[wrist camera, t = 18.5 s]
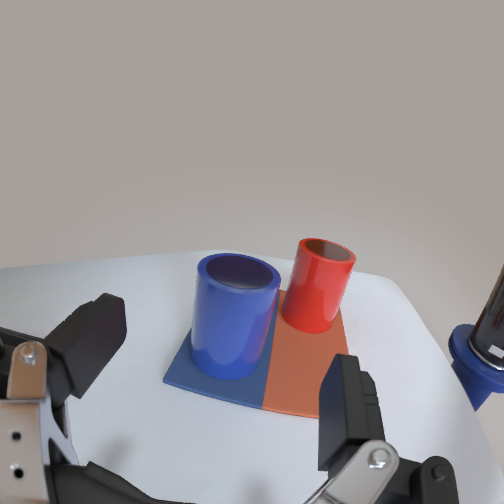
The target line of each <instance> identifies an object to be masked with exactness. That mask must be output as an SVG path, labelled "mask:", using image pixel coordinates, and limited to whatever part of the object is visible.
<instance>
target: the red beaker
mask: <svg viewBox="0 0 504 504" xmlns="http://www.w3.org/2000/svg"><path fill="white" fill-rule="evenodd" d="M355 261H356V257H355V255H354V254H353V253H352V252H351V251H350V250H348V249H347V248H345V247H343V246H341V245H339V244H336V243H333V242H330V241H327V240H322V239H314V238H307V239H303V240H301V241H300V242H299V245H298V249H297V253H296V257H295V261H294V264H293V268H292V272H291V276H290V280H289V283H288V287H287V291H286V294H285V298H284V302H283V305H282V309H281V315H282V317H283V319H284V320H285V321H286V322H287V323H288V324H289V325H290V326H292V327H293V328H295V329H297V330H300V331H303V332H306V333H323V332H326V331H328V330H329V329H330V328H331V327H332V324H333V322H334V319H335V317H336V314H337V311H338V309H339V306H340V304H341V301H342V298H343V296H344V293H345V290H346V287H347V285H348V282H349V279H350V276H351V273H352V270H353V267H354V264H355Z"/></svg>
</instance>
